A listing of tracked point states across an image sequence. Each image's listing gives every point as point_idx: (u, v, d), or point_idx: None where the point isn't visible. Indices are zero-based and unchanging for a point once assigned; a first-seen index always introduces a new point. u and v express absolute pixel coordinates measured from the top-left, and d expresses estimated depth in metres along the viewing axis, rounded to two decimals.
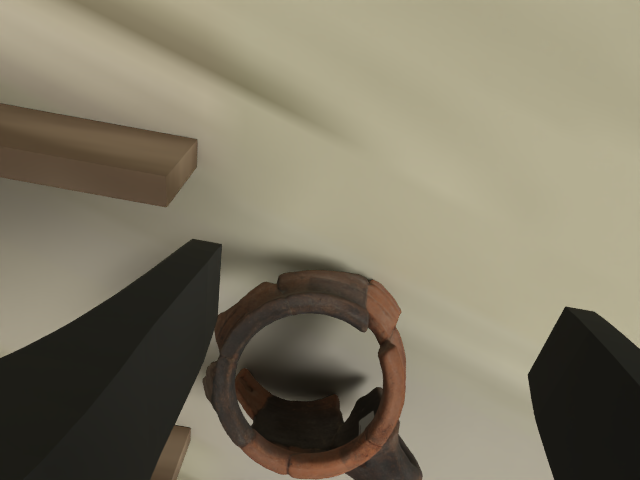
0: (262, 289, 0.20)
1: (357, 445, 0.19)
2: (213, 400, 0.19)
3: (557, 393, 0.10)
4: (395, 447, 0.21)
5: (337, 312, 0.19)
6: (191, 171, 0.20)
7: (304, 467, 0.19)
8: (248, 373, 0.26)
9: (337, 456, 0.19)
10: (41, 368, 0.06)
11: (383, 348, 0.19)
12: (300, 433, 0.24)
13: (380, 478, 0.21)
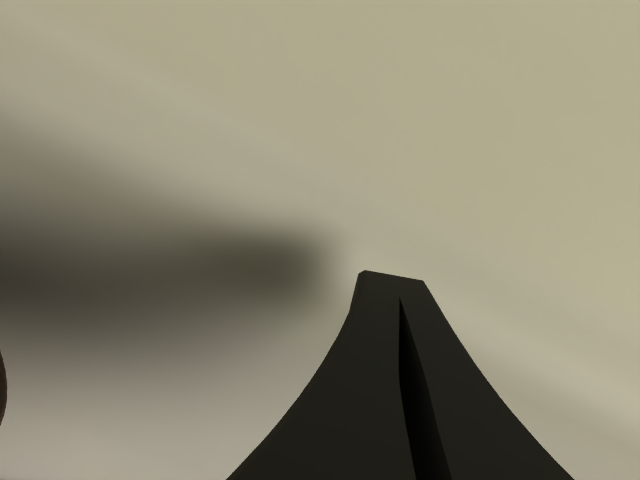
0: None
1: None
2: None
3: None
4: None
5: None
6: None
7: None
8: None
9: None
10: (338, 420, 0.06)
11: None
12: None
13: None
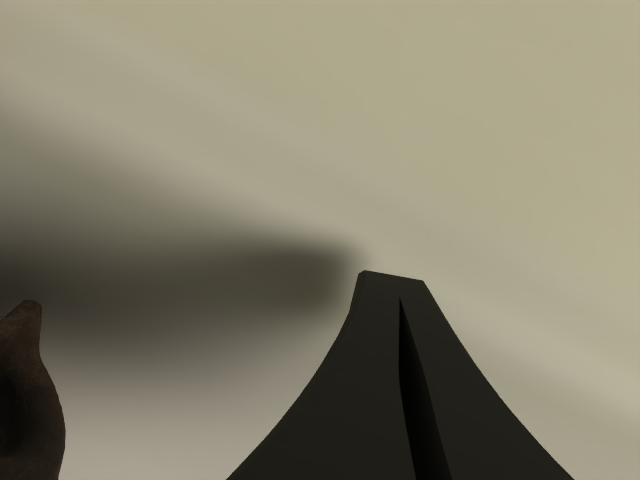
0: None
1: None
2: None
3: None
4: None
5: None
6: None
7: None
8: None
9: None
10: (337, 420, 0.06)
11: None
12: None
13: None
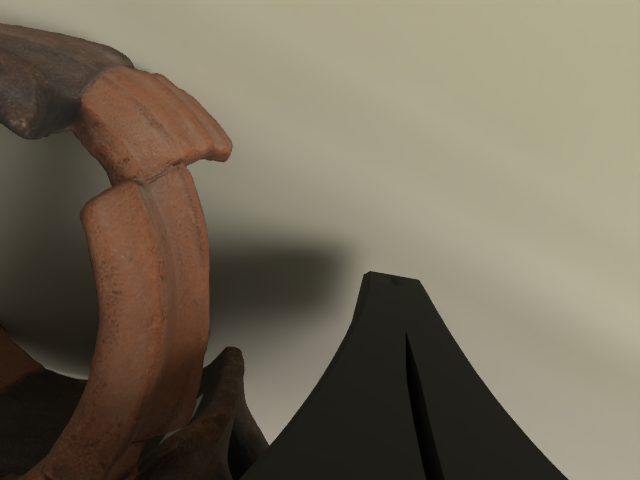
0: None
1: None
2: None
3: None
4: None
5: None
6: None
7: None
8: None
9: None
10: (347, 423, 0.06)
11: None
12: (52, 444, 0.11)
13: None
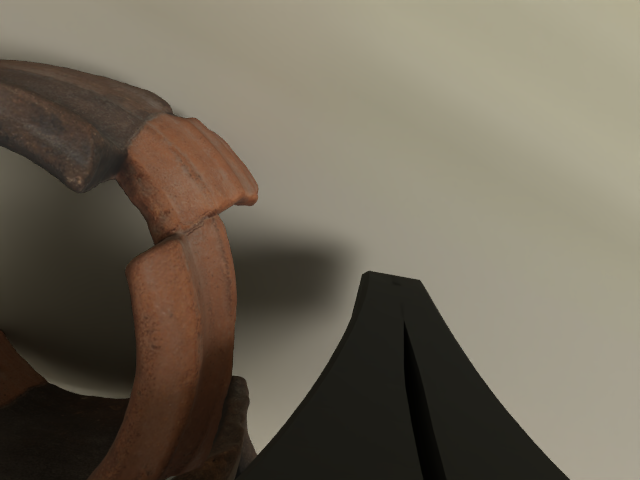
0: None
1: None
2: None
3: None
4: None
5: None
6: None
7: None
8: None
9: None
10: (343, 422, 0.06)
11: None
12: (55, 464, 0.11)
13: None
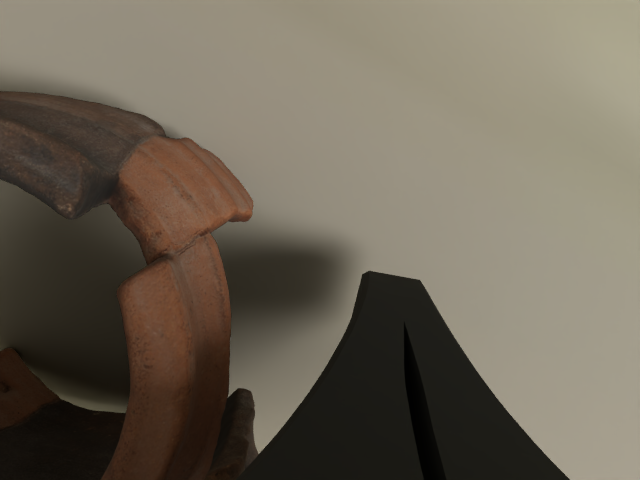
0: None
1: None
2: None
3: None
4: None
5: None
6: None
7: None
8: (11, 357, 0.14)
9: None
10: (344, 422, 0.06)
11: None
12: (67, 479, 0.12)
13: None
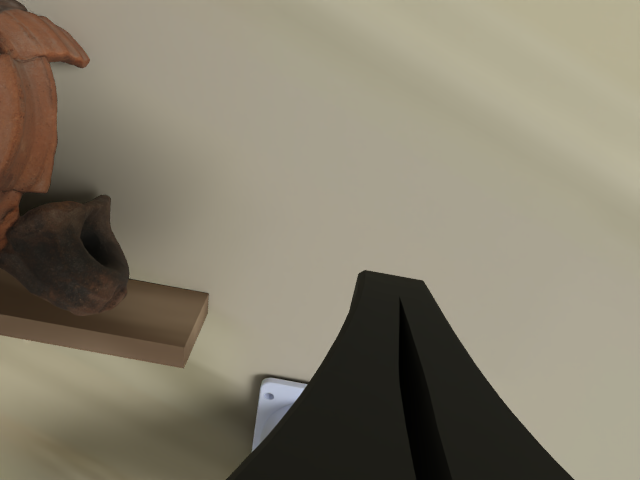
0: None
1: None
2: None
3: None
4: (58, 228, 0.16)
5: None
6: None
7: None
8: None
9: None
10: (337, 420, 0.06)
11: None
12: None
13: (33, 266, 0.15)
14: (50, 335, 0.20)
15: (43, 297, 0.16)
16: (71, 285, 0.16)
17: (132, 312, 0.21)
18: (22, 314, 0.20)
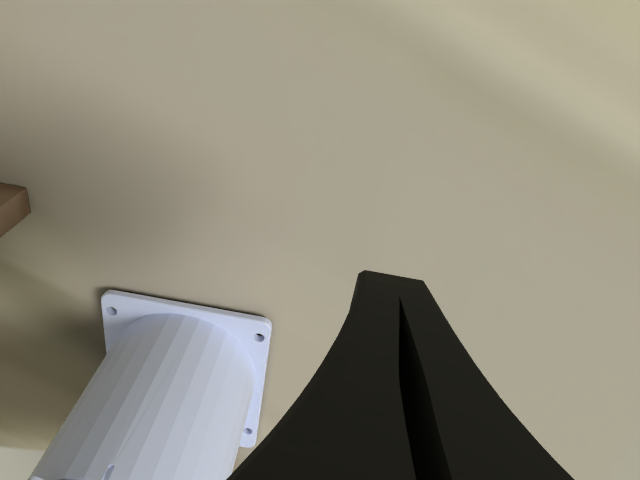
0: None
1: None
2: None
3: None
4: None
5: None
6: None
7: None
8: None
9: None
10: (337, 420, 0.06)
11: None
12: None
13: None
14: None
15: None
16: None
17: None
18: None
